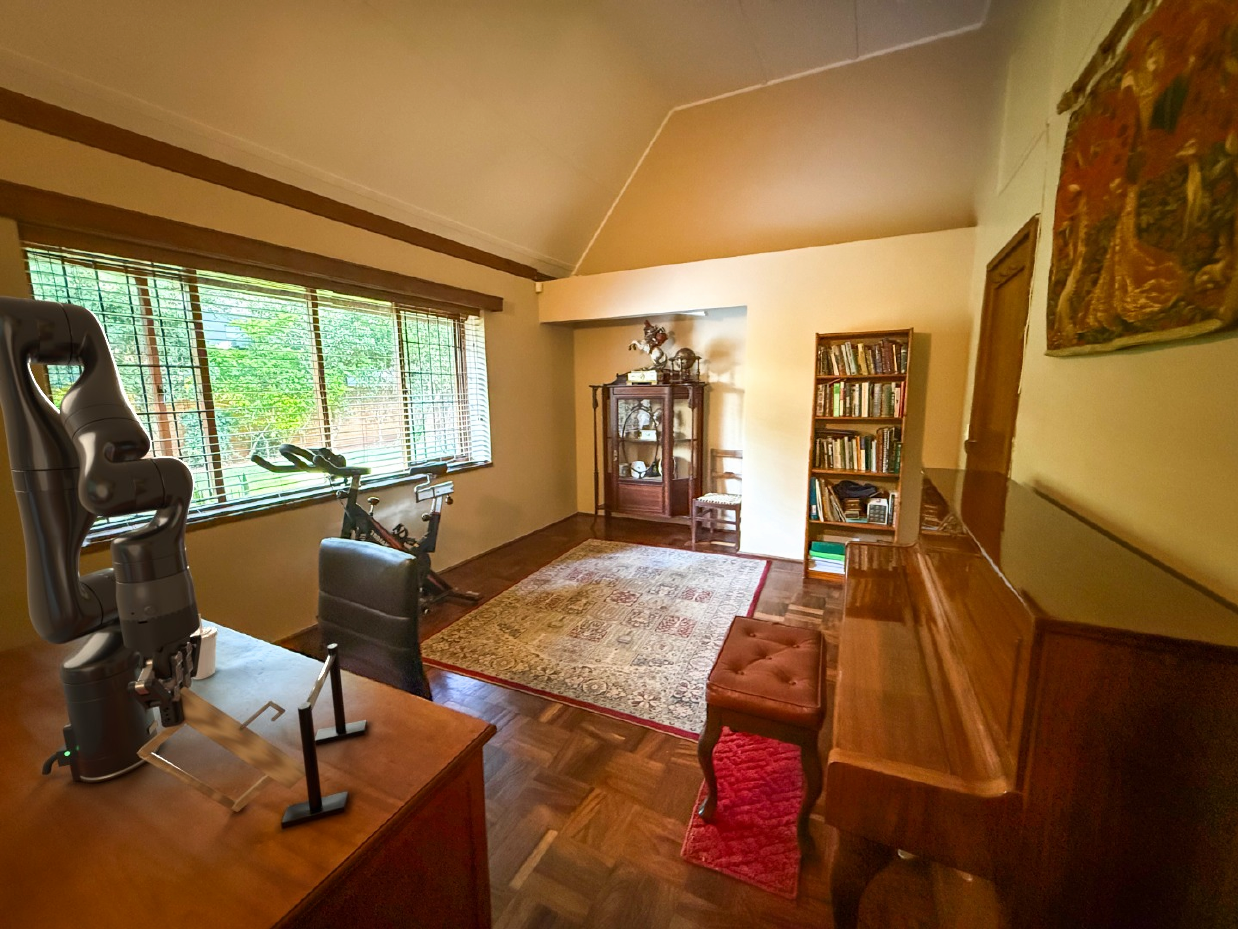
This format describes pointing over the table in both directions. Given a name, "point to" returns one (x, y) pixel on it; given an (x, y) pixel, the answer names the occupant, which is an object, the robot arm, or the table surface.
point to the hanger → (235, 741)
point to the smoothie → (206, 651)
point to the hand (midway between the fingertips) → (177, 719)
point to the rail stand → (341, 730)
